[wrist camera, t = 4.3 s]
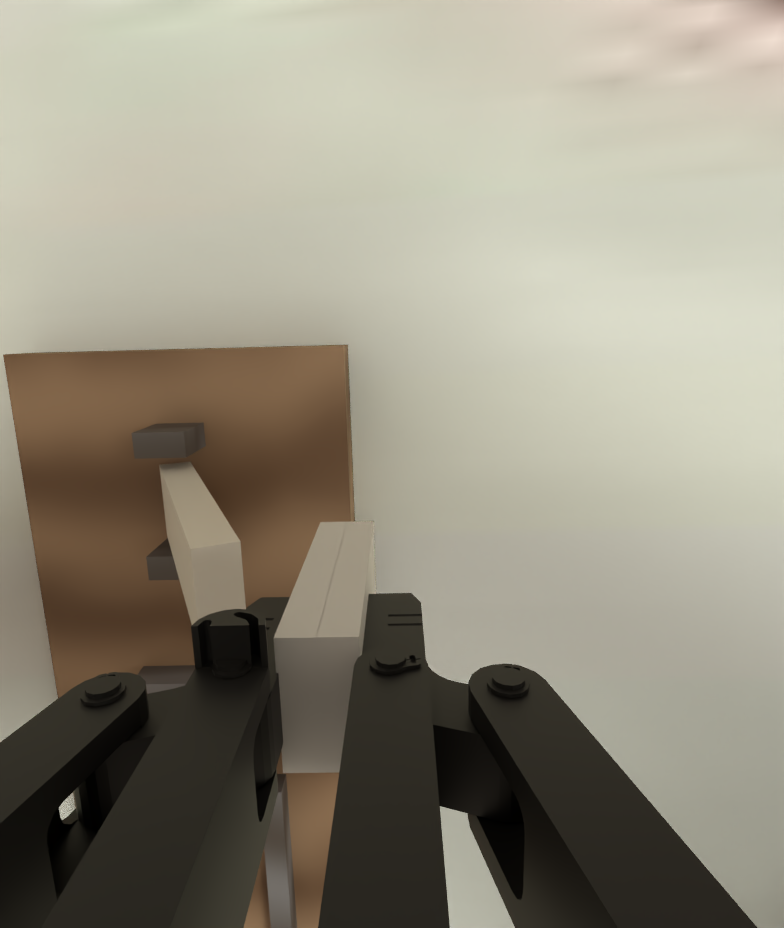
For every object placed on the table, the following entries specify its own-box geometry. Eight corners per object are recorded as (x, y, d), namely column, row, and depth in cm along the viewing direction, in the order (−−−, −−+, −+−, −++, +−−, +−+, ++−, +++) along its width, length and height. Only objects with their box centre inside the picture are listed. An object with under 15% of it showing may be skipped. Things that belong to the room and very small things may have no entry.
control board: (31, 352, 27) (-39, 357, 23) (347, 344, 27) (337, 347, 22) (128, 994, 35) (89, 1088, 30) (373, 993, 34) (369, 1088, 30)
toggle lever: (159, 464, 25) (190, 549, 15) (190, 461, 25) (240, 541, 15) (167, 535, 25) (201, 661, 15) (196, 530, 26) (249, 650, 16)
